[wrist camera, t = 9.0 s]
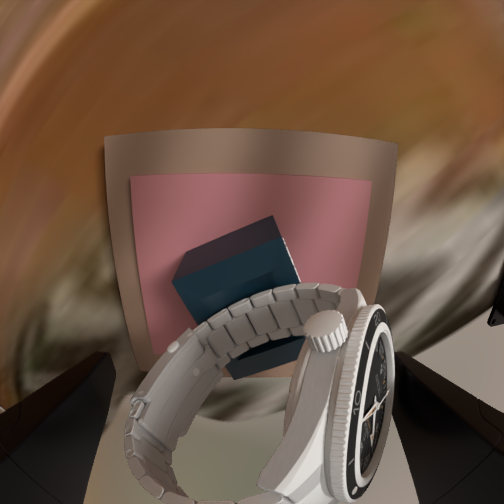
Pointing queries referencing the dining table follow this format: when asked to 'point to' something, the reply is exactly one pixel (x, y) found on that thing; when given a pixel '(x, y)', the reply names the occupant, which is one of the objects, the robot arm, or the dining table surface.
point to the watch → (267, 357)
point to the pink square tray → (241, 213)
